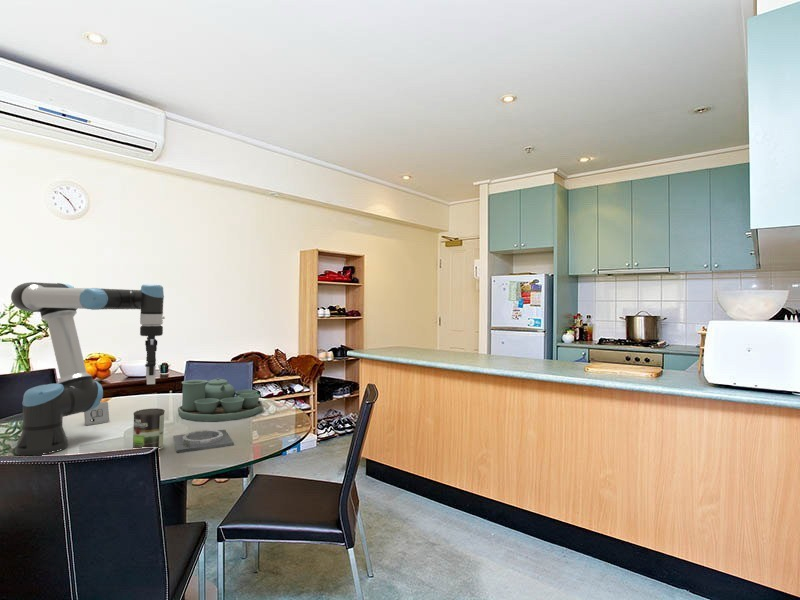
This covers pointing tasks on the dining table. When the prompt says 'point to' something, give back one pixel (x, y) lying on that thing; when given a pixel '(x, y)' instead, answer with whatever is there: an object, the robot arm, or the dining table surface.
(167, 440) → the dining table surface
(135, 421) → the coffee can
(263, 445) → the dining table surface
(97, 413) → the electrical switch
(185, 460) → the dining table surface
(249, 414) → the tea set
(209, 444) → the flange base
